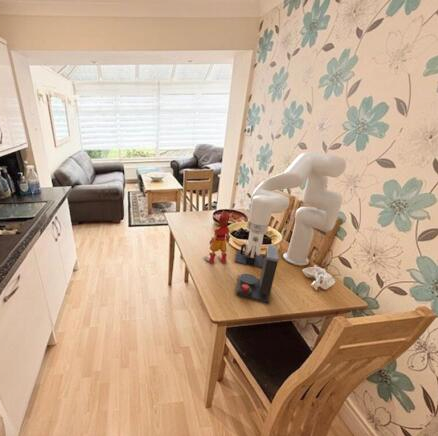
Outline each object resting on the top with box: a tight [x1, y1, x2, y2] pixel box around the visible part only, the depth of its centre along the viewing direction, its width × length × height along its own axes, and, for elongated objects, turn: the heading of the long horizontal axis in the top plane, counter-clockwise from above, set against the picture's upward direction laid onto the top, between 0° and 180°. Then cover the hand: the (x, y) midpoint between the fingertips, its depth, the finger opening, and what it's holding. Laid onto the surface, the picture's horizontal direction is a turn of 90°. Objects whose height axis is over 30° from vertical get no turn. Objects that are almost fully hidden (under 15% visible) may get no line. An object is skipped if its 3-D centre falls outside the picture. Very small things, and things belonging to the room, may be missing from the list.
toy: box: [204, 209, 231, 264], centre depth 129 cm, size 12×9×30 cm
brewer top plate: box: [234, 249, 264, 269], centre depth 136 cm, size 14×14×1 cm
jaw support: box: [301, 264, 336, 291], centre depth 114 cm, size 12×9×10 cm
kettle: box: [240, 241, 257, 260], centre depth 133 cm, size 9×8×11 cm
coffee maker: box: [236, 277, 269, 305], centre depth 112 cm, size 15×13×3 cm
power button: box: [242, 284, 249, 291], centre depth 109 cm, size 3×3×2 cm
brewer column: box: [239, 244, 280, 296], centre depth 108 cm, size 13×13×19 cm
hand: (249, 263), depth 103 cm, fingers closed
